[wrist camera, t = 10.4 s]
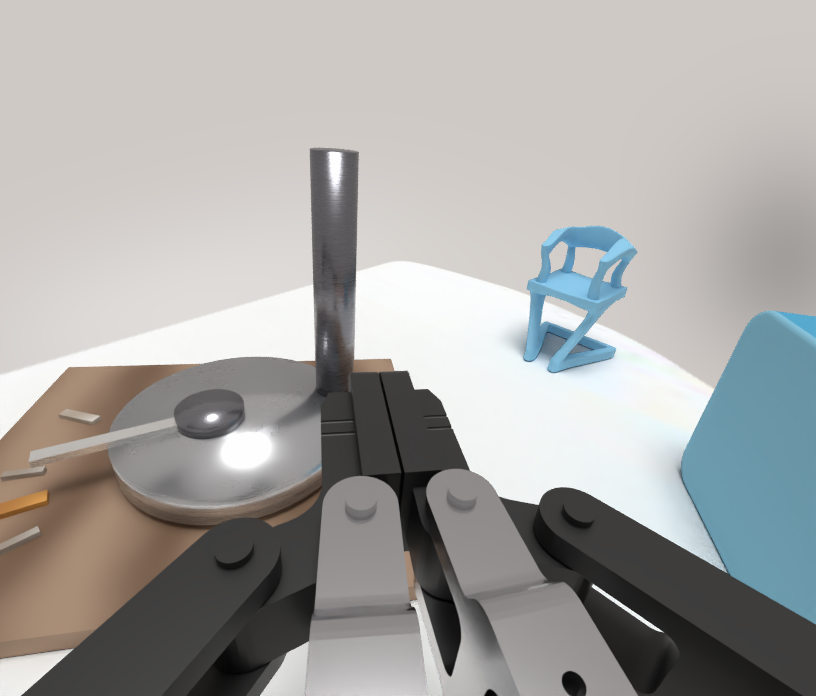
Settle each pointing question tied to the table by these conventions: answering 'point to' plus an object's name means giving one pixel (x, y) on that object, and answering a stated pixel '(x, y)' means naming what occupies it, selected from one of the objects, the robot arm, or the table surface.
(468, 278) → the table surface
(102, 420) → the base plate
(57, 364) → the table surface
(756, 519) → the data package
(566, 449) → the table surface
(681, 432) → the table surface
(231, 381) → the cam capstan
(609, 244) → the chair
